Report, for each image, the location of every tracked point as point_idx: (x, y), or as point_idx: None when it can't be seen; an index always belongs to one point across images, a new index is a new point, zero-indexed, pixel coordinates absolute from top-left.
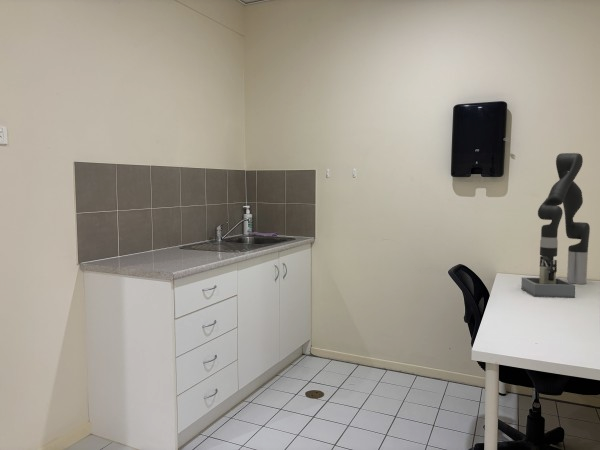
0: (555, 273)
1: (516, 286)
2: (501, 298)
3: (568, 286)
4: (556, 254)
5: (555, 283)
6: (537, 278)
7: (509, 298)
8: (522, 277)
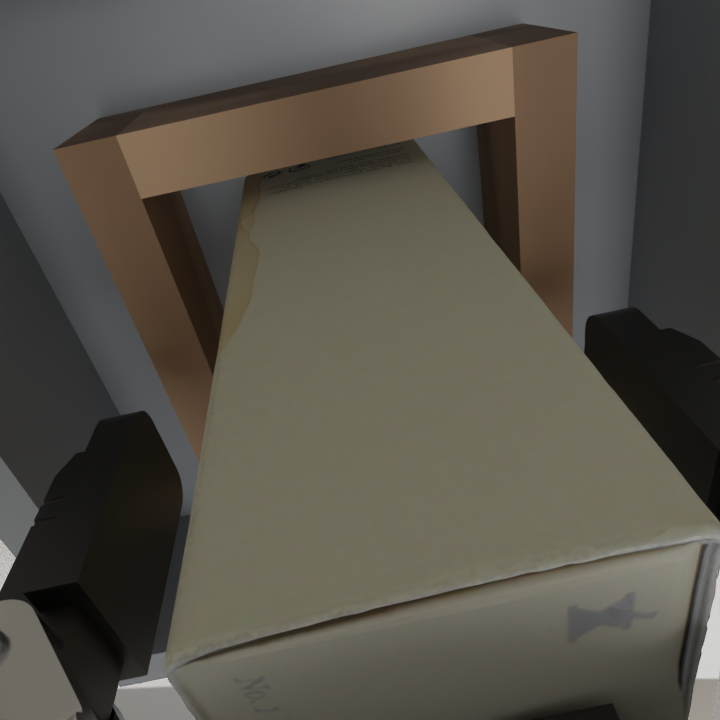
0: (567, 344)
1: (3, 562)
2: (712, 644)
3: None
4: None
5: (456, 193)
6: (38, 501)
7: (714, 604)
8: (126, 679)
